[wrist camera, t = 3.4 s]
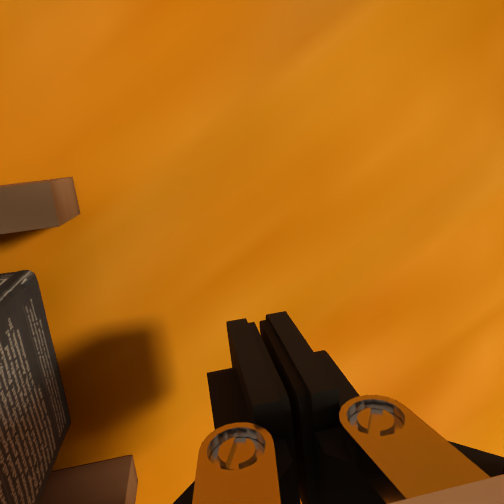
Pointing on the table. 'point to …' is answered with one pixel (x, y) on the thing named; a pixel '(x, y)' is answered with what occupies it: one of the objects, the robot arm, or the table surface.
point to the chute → (45, 216)
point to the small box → (27, 392)
